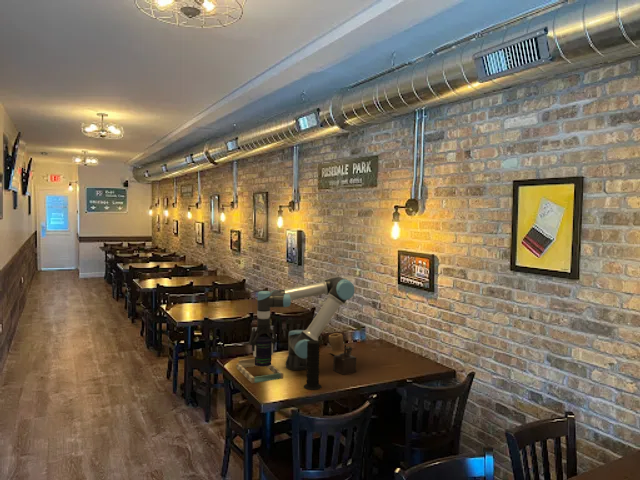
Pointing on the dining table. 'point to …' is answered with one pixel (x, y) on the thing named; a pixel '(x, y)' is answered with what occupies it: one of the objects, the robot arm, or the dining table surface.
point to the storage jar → (263, 351)
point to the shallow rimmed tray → (251, 363)
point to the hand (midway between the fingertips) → (263, 355)
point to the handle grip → (312, 365)
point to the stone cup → (336, 343)
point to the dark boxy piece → (345, 362)
